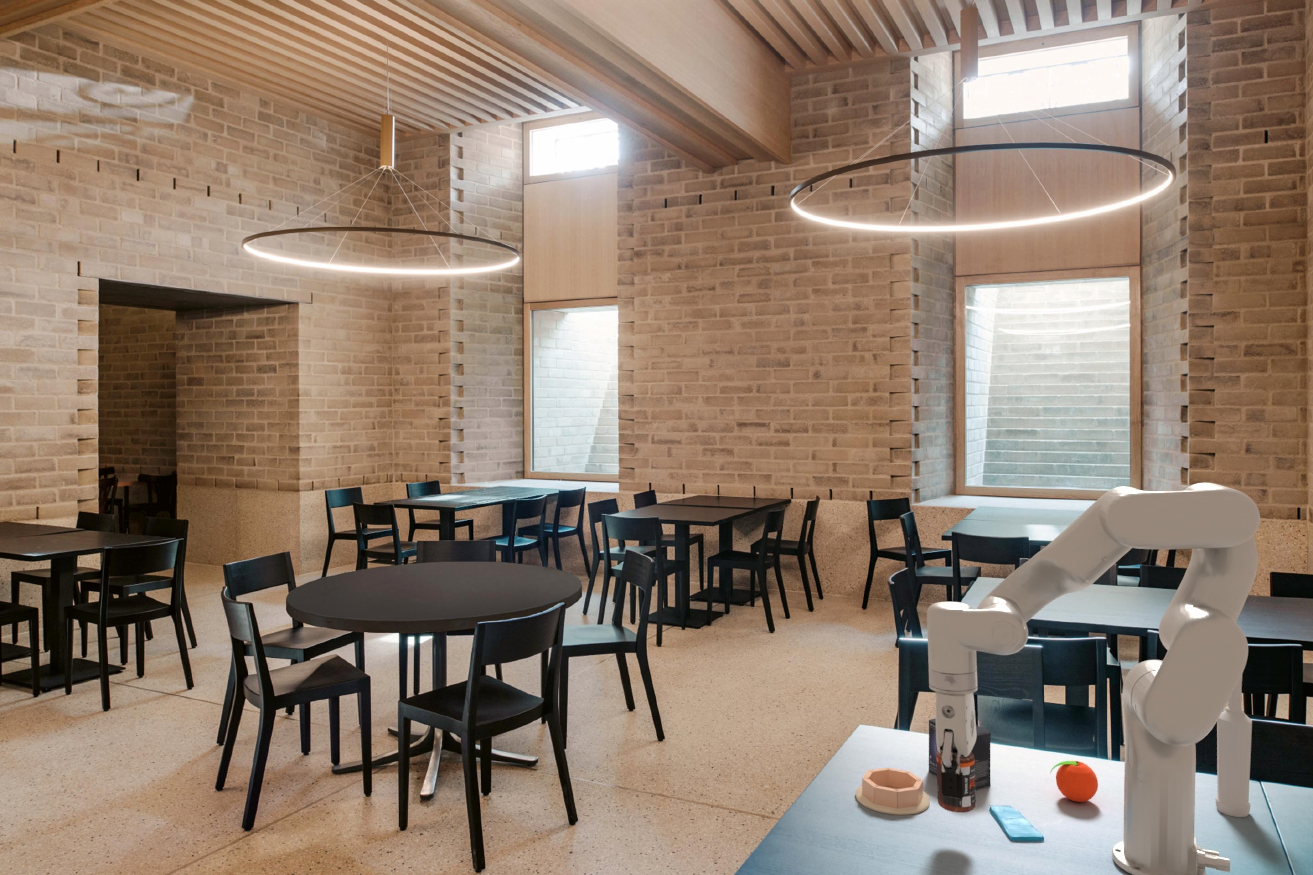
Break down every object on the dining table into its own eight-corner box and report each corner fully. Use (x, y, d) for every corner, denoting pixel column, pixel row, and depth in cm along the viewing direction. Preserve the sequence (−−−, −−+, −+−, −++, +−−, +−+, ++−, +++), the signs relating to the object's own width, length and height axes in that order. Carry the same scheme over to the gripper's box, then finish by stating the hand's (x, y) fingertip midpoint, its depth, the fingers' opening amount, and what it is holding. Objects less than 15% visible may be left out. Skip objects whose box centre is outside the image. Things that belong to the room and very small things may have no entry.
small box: (925, 771, 176) (926, 718, 175) (951, 765, 178) (952, 713, 178) (965, 792, 166) (966, 736, 166) (992, 786, 169) (992, 730, 168)
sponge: (1021, 805, 159) (988, 801, 159) (1047, 838, 147) (1011, 833, 147) (1020, 814, 159) (987, 809, 159) (1046, 847, 147) (1009, 842, 147)
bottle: (1216, 813, 157) (1219, 671, 156) (1214, 802, 162) (1216, 664, 161) (1251, 820, 155) (1254, 675, 154) (1248, 808, 159) (1251, 668, 158)
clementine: (1053, 805, 160) (1053, 766, 160) (1046, 789, 167) (1046, 751, 167) (1102, 810, 158) (1102, 770, 158) (1092, 794, 165) (1093, 755, 165)
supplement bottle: (978, 815, 144) (976, 744, 144) (939, 813, 145) (937, 743, 145) (973, 799, 150) (971, 731, 149) (936, 797, 151) (933, 730, 151)
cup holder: (936, 792, 166) (936, 773, 166) (921, 820, 154) (921, 800, 154) (866, 778, 172) (866, 760, 172) (846, 805, 161) (847, 785, 160)
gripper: (968, 696, 138) (971, 813, 138) (984, 667, 153) (988, 772, 153) (918, 691, 141) (921, 805, 141) (939, 663, 156) (942, 766, 157)
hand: (956, 787), depth 147 cm, fingers closed on supplement bottle, 6 cm apart
